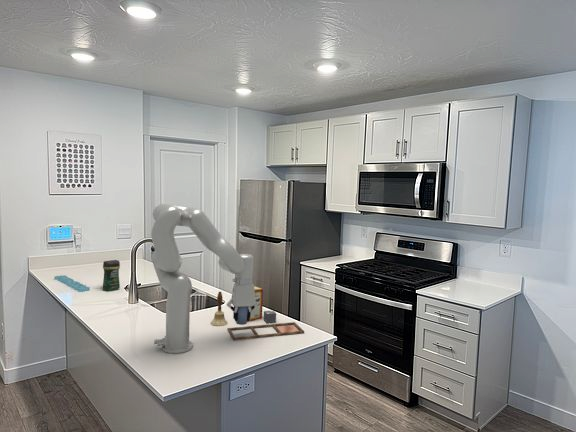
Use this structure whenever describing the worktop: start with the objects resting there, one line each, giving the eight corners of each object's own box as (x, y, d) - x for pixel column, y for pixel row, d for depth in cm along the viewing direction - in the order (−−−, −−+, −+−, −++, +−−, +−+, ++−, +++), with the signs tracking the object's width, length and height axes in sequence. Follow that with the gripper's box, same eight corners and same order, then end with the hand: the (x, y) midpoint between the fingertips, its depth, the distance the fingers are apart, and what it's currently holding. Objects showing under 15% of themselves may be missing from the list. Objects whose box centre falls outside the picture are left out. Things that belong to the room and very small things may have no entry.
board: (233, 340, 178) (233, 338, 178) (227, 330, 190) (227, 328, 190) (304, 333, 190) (304, 331, 190) (294, 324, 202) (294, 322, 202)
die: (266, 323, 201) (266, 314, 201) (263, 320, 206) (263, 310, 205) (275, 323, 203) (276, 313, 202) (272, 319, 208) (273, 310, 207)
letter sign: (54, 279, 275) (54, 276, 274) (64, 278, 279) (64, 274, 279) (79, 293, 244) (79, 289, 244) (90, 291, 249) (90, 287, 249)
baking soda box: (246, 322, 203) (247, 290, 201) (239, 318, 208) (240, 287, 206) (262, 318, 209) (262, 288, 207) (254, 315, 214) (255, 285, 212)
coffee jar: (106, 292, 247) (106, 262, 245) (100, 289, 252) (100, 260, 251) (121, 289, 254) (122, 260, 253) (115, 287, 259) (115, 258, 258)
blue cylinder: (237, 325, 182) (238, 307, 182) (234, 321, 187) (235, 304, 186) (248, 324, 184) (249, 307, 183) (245, 320, 189) (246, 304, 188)
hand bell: (231, 323, 200) (231, 292, 198) (217, 327, 194) (218, 294, 192) (220, 319, 205) (221, 288, 204) (207, 323, 199) (207, 291, 198)
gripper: (227, 283, 178) (224, 323, 179) (264, 282, 184) (261, 321, 185) (223, 279, 185) (221, 318, 186) (259, 279, 191) (257, 316, 192)
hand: (241, 319), depth 185 cm, fingers closed on blue cylinder, 5 cm apart
